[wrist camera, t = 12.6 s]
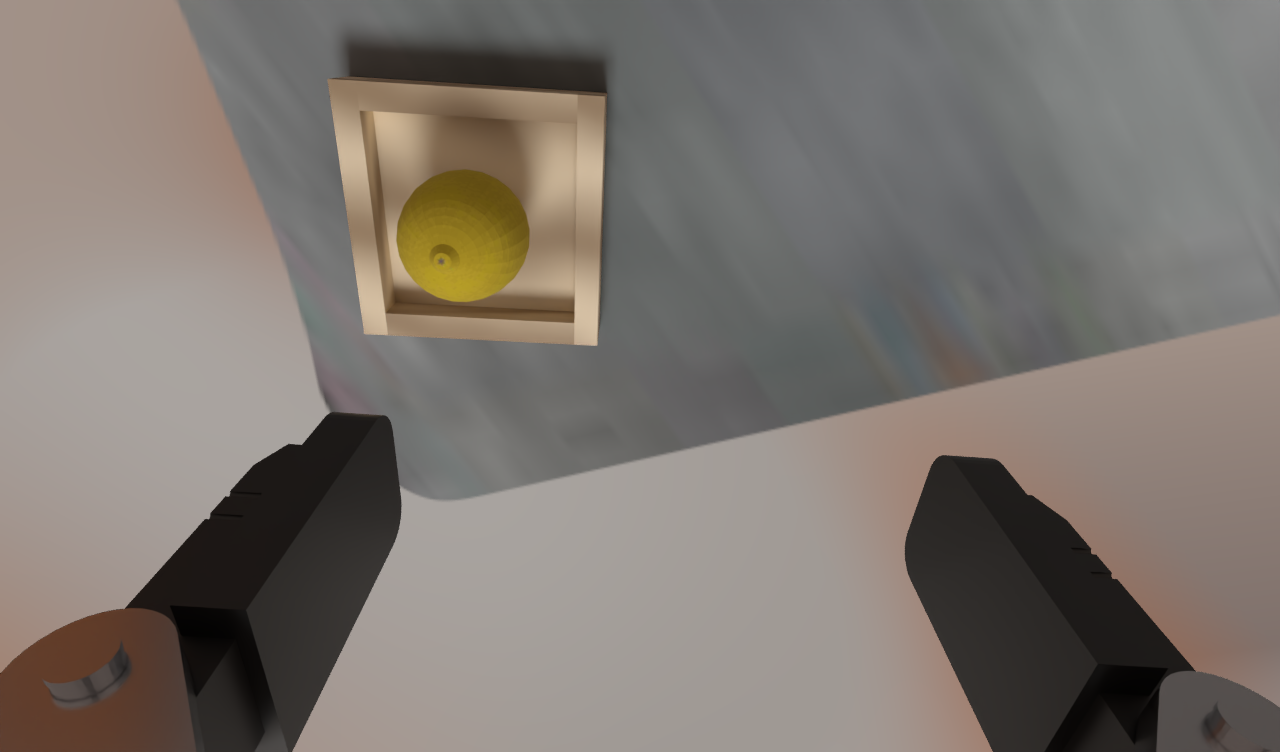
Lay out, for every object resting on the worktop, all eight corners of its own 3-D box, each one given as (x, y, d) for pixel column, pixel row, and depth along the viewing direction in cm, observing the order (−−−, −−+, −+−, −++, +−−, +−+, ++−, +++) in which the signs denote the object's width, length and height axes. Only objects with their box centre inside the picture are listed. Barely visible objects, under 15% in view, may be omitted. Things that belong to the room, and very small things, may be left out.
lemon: (486, 132, 31) (441, 157, 24) (562, 225, 33) (542, 275, 26) (404, 204, 32) (338, 248, 25) (482, 289, 34) (441, 352, 27)
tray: (349, 76, 30) (327, 79, 28) (607, 92, 31) (605, 96, 28) (380, 316, 36) (364, 333, 34) (599, 327, 36) (597, 345, 34)
